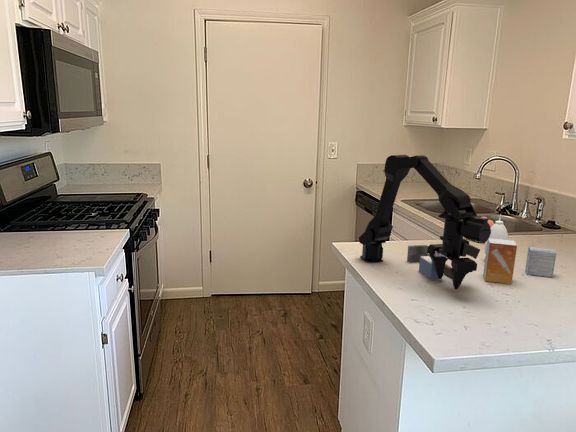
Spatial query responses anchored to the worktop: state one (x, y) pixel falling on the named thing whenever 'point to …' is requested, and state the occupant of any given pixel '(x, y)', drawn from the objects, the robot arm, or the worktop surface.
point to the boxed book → (427, 268)
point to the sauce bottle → (498, 232)
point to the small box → (500, 260)
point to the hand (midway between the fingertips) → (447, 283)
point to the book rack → (421, 250)
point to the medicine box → (540, 262)
